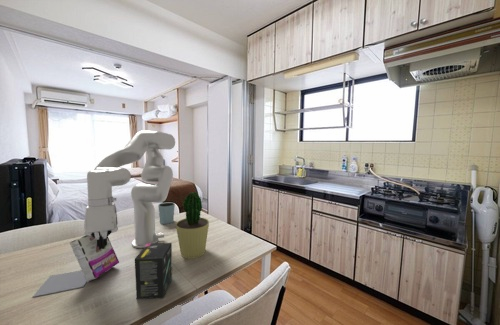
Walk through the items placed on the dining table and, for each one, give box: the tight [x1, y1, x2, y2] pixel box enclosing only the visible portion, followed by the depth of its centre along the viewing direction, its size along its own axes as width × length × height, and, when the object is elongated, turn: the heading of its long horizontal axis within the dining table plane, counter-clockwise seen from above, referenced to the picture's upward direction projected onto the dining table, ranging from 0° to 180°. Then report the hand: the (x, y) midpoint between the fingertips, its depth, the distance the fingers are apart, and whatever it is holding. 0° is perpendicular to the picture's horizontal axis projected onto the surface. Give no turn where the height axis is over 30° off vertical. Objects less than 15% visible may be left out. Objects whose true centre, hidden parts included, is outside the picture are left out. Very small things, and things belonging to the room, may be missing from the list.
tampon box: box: [134, 242, 173, 300], centre depth 75 cm, size 11×9×15 cm
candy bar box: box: [69, 231, 120, 283], centre depth 83 cm, size 11×5×16 cm, turn 168°
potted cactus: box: [175, 191, 210, 259], centre depth 100 cm, size 15×15×30 cm
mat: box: [32, 269, 87, 298], centre depth 78 cm, size 14×12×1 cm
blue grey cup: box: [157, 201, 176, 225], centre depth 139 cm, size 10×10×12 cm
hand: (102, 247), depth 82 cm, fingers closed
